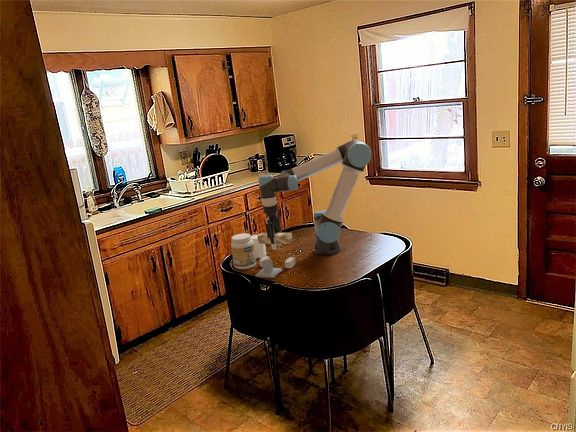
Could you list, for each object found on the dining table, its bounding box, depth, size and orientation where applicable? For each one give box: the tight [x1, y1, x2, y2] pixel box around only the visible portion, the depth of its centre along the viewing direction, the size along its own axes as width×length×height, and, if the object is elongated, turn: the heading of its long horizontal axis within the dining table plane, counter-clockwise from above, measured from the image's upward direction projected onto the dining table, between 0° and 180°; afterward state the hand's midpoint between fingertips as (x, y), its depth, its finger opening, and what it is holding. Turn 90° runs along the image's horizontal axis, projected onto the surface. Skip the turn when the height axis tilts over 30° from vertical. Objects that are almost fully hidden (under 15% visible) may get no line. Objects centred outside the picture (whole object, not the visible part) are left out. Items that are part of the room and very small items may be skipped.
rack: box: [258, 255, 296, 269], centre depth 247 cm, size 18×6×4 cm, turn 66°
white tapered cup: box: [251, 233, 267, 259], centre depth 262 cm, size 8×8×12 cm
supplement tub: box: [230, 233, 257, 270], centre depth 250 cm, size 12×12×17 cm
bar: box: [257, 232, 294, 245], centre depth 244 cm, size 18×4×4 cm, turn 66°
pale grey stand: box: [255, 259, 282, 279], centre depth 237 cm, size 10×10×7 cm
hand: (276, 247), depth 245 cm, fingers closed on bar, 4 cm apart
